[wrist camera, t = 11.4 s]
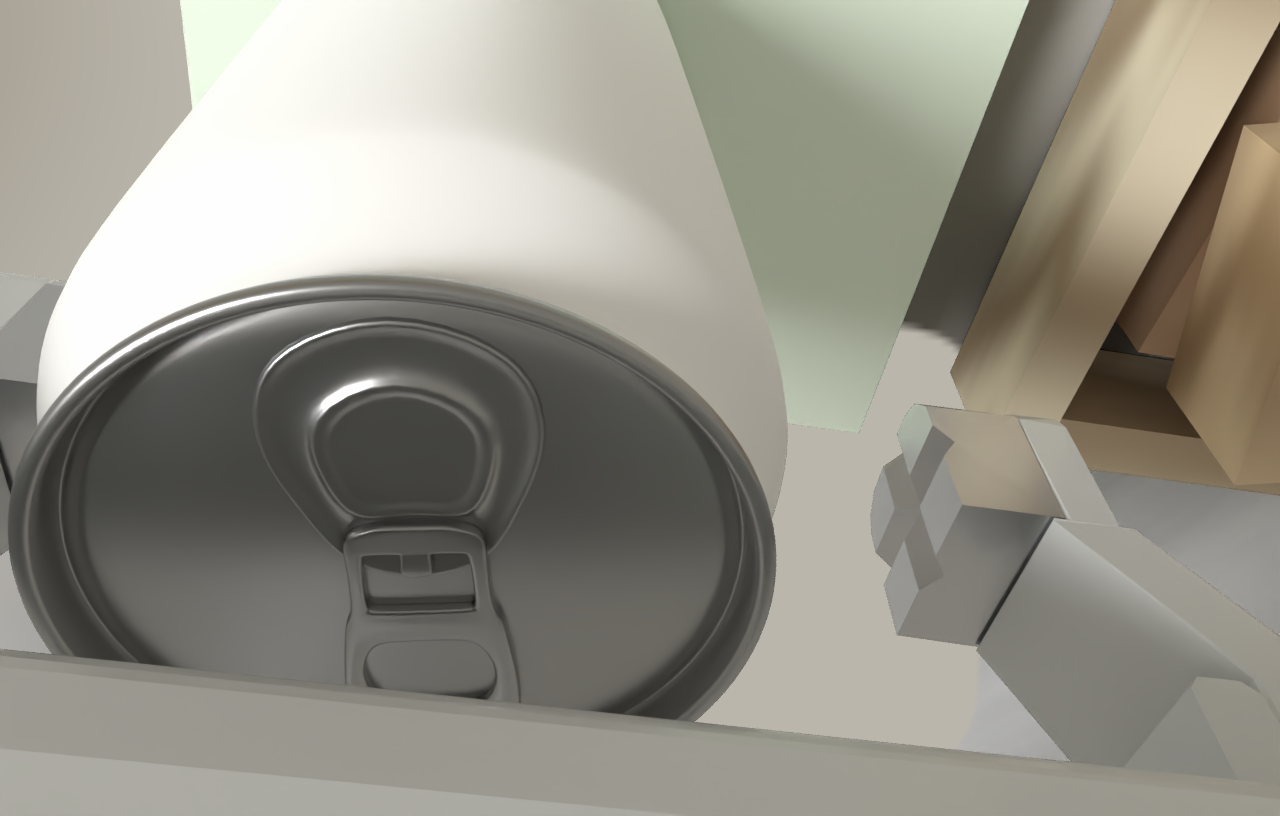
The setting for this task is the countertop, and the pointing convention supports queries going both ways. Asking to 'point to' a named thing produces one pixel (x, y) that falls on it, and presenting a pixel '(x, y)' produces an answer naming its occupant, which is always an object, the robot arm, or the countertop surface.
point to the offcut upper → (1238, 320)
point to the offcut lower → (1196, 221)
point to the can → (418, 374)
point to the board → (804, 156)
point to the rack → (1113, 238)
